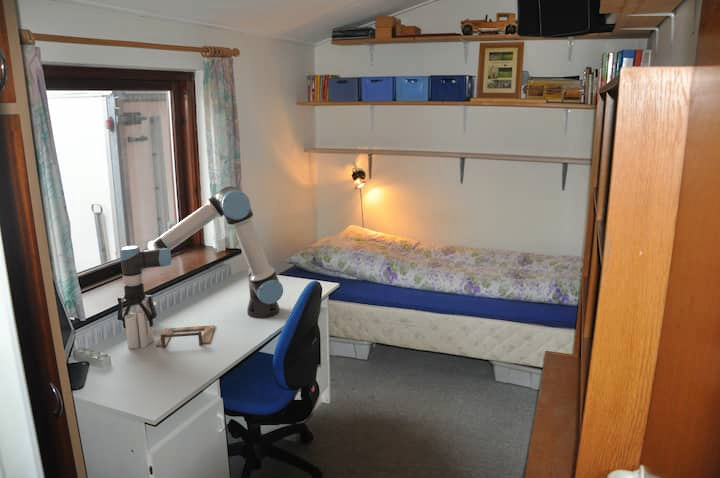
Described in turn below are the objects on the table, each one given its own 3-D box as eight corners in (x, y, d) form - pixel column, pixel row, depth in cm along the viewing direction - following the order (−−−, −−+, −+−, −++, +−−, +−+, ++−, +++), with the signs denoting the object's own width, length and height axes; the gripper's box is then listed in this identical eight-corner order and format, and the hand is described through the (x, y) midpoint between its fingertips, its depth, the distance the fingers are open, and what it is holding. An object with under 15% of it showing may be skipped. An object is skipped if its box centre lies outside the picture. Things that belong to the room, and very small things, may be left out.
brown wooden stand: (215, 326, 256) (214, 314, 254) (209, 345, 237) (207, 332, 236) (165, 330, 254) (163, 317, 252) (155, 348, 235) (153, 335, 233)
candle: (144, 337, 246) (139, 294, 241) (157, 339, 244) (153, 296, 239) (125, 347, 236) (120, 303, 231) (139, 350, 233) (134, 305, 228)
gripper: (161, 279, 238) (166, 329, 243) (110, 281, 235) (116, 331, 241) (157, 285, 230) (162, 336, 236) (104, 287, 228) (110, 339, 234)
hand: (139, 334), depth 239 cm, fingers closed on candle, 8 cm apart
